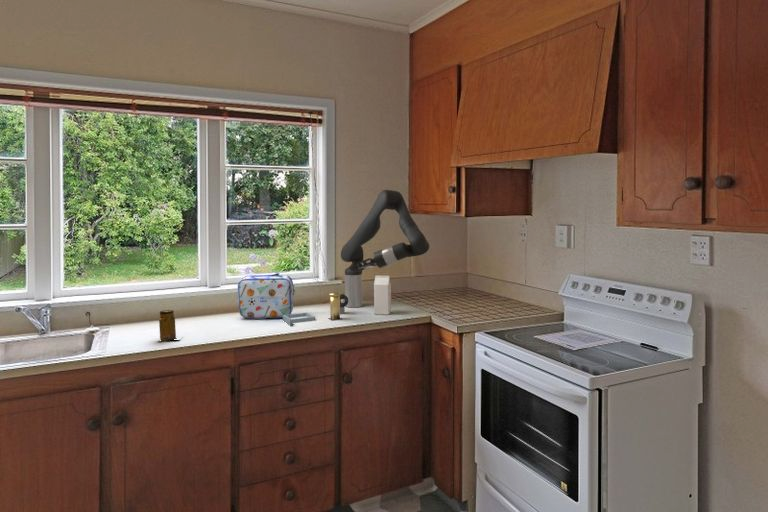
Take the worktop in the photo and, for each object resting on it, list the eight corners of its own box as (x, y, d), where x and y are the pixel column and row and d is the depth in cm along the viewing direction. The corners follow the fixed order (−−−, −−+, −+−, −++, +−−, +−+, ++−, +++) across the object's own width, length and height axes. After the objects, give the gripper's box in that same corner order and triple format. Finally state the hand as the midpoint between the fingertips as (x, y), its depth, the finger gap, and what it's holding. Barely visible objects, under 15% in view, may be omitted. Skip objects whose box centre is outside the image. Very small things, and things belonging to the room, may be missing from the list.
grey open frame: (282, 321, 247) (282, 315, 246) (307, 318, 252) (307, 312, 252) (290, 326, 236) (289, 319, 236) (315, 323, 241) (315, 316, 241)
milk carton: (388, 315, 258) (387, 276, 256) (374, 314, 259) (373, 276, 257) (391, 312, 265) (390, 274, 263) (377, 311, 266) (376, 274, 264)
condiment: (161, 338, 218) (159, 309, 216) (182, 337, 219) (181, 308, 218) (157, 342, 210) (155, 313, 209) (179, 341, 212) (177, 312, 211)
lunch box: (297, 314, 262) (296, 270, 260) (295, 319, 251) (294, 273, 249) (241, 316, 260) (239, 272, 258) (237, 320, 250) (235, 274, 247)
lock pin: (328, 318, 244) (327, 292, 243) (338, 317, 247) (337, 292, 246) (332, 320, 240) (331, 294, 239) (342, 319, 242) (342, 293, 241)
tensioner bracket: (317, 317, 253) (317, 294, 252) (344, 314, 259) (344, 292, 258) (331, 325, 237) (330, 300, 236) (359, 321, 243) (359, 297, 242)
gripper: (386, 250, 244) (355, 262, 247) (379, 248, 230) (346, 261, 233) (392, 265, 243) (360, 277, 246) (384, 264, 229) (351, 277, 232)
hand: (353, 269), depth 240 cm, fingers open, 8 cm apart
